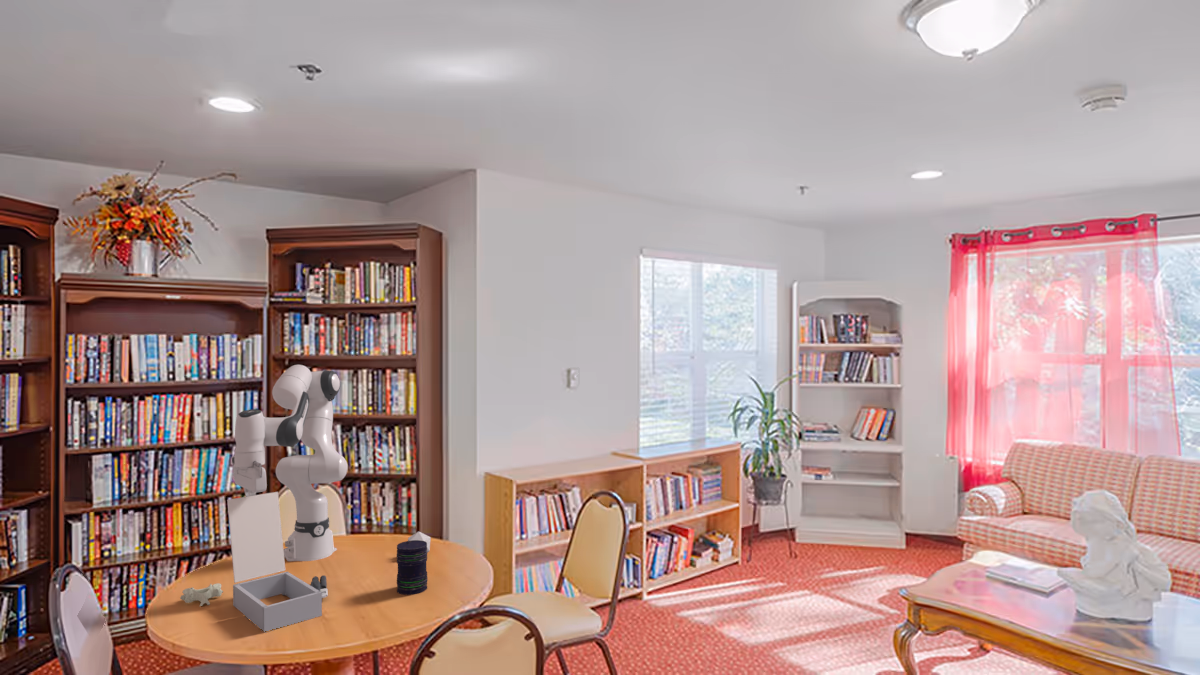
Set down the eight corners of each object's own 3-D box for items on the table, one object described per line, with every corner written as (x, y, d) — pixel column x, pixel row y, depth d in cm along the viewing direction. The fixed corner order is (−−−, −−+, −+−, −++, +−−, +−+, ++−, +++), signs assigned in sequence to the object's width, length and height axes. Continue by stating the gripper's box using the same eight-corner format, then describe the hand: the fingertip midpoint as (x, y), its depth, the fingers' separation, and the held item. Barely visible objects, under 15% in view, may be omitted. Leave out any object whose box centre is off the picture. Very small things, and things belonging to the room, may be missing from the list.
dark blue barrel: (433, 589, 224) (433, 544, 224) (406, 597, 217) (406, 551, 217) (417, 582, 231) (417, 538, 231) (391, 589, 224) (390, 544, 224)
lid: (235, 582, 211) (234, 582, 211) (285, 570, 222) (284, 570, 222) (228, 499, 215) (227, 499, 216) (277, 491, 226) (276, 491, 227)
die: (435, 556, 259) (435, 530, 259) (417, 562, 251) (417, 535, 251) (419, 552, 263) (419, 526, 263) (401, 559, 256) (401, 532, 256)
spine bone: (182, 616, 207) (183, 602, 206) (179, 599, 214) (179, 585, 214) (226, 608, 214) (227, 594, 213) (221, 592, 222) (222, 578, 221)
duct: (233, 607, 210) (233, 584, 210) (287, 592, 222) (287, 571, 222) (264, 632, 192) (264, 608, 192) (321, 615, 203) (321, 592, 203)
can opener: (327, 602, 214) (327, 582, 214) (310, 605, 212) (310, 585, 212) (327, 582, 232) (327, 564, 232) (311, 585, 230) (311, 566, 230)
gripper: (271, 462, 218) (272, 505, 217) (249, 455, 232) (249, 495, 232) (250, 464, 213) (251, 508, 213) (229, 457, 227) (229, 498, 227)
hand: (250, 501), depth 222 cm, fingers closed
